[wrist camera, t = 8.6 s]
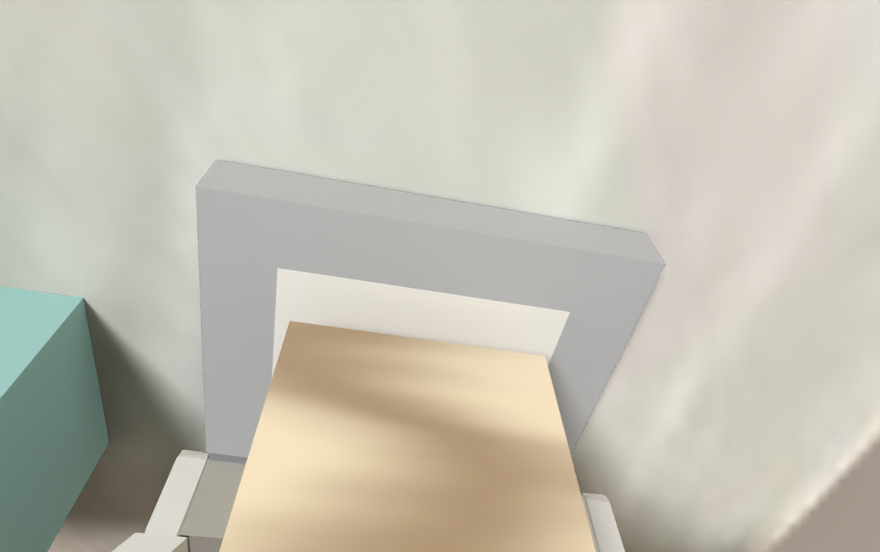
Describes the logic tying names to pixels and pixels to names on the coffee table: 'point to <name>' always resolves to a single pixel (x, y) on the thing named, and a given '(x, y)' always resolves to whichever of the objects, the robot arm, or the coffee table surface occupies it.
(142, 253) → the coffee table surface
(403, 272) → the plate
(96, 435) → the teal cube
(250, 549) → the maple cube
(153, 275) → the coffee table surface
